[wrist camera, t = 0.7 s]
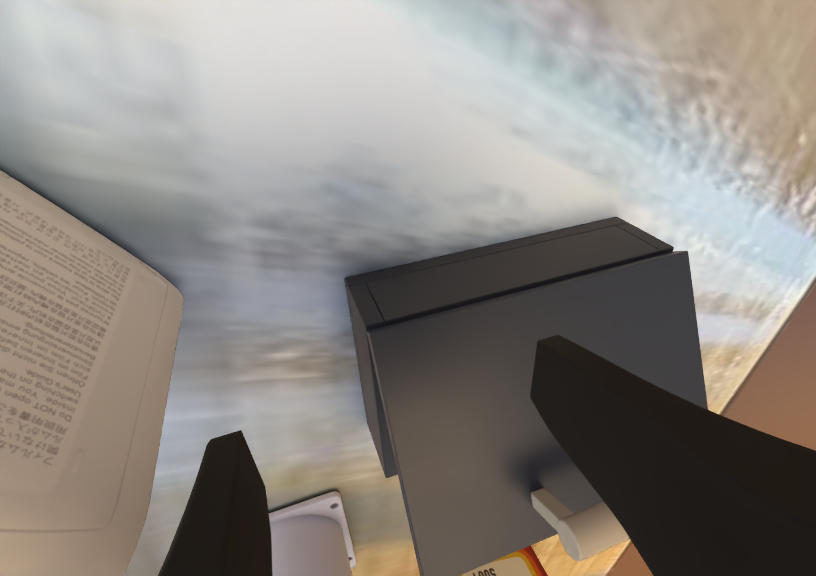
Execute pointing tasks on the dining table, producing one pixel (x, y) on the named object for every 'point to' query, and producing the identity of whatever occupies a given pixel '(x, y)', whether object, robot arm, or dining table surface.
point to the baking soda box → (512, 565)
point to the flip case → (478, 289)
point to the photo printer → (76, 390)
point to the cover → (521, 408)
